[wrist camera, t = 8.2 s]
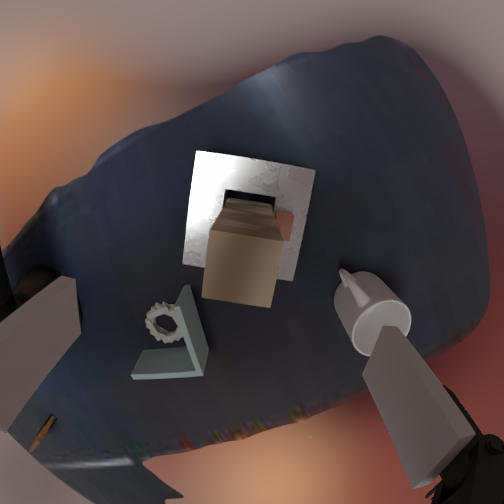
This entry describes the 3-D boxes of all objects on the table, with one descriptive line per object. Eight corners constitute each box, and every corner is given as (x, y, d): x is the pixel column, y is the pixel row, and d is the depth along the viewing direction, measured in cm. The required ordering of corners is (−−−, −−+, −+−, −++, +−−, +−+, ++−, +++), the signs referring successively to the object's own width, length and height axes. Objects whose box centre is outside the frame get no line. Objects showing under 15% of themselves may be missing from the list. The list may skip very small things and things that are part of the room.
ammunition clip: (51, 413, 56) (33, 442, 45) (57, 417, 56) (39, 447, 45) (43, 424, 58) (26, 451, 47) (48, 428, 59) (32, 455, 47)
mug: (356, 241, 42) (384, 266, 32) (390, 297, 45) (419, 330, 35) (309, 276, 44) (325, 309, 34) (348, 327, 47) (369, 367, 36)
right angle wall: (190, 283, 45) (179, 306, 37) (209, 347, 48) (203, 375, 41) (122, 293, 45) (103, 315, 38) (145, 353, 49) (133, 379, 42)
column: (222, 236, 34) (199, 298, 19) (228, 196, 33) (208, 227, 18) (263, 243, 34) (271, 309, 19) (270, 203, 33) (286, 240, 18)
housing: (191, 250, 43) (178, 269, 35) (204, 152, 38) (193, 150, 31) (287, 265, 43) (294, 287, 36) (306, 169, 39) (319, 170, 31)
